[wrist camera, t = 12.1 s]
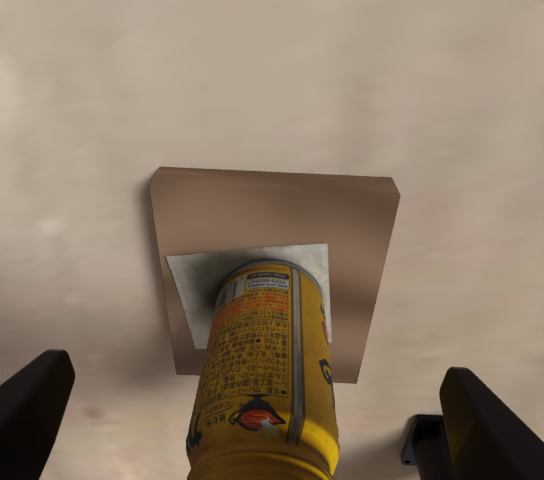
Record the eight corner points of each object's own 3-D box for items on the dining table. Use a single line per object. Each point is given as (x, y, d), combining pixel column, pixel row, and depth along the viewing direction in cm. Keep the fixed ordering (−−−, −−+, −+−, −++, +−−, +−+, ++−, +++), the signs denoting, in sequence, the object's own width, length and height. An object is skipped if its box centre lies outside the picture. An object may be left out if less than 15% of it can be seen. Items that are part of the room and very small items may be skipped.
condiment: (331, 339, 25) (360, 586, 15) (196, 346, 26) (137, 585, 16) (327, 240, 21) (361, 486, 11) (167, 252, 22) (64, 492, 12)
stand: (352, 359, 29) (356, 383, 27) (182, 351, 29) (176, 374, 27) (391, 177, 21) (400, 195, 19) (159, 166, 21) (149, 183, 20)
